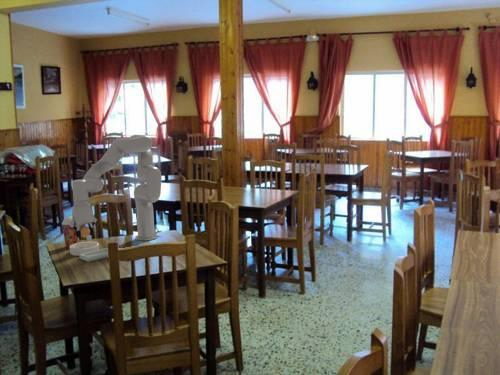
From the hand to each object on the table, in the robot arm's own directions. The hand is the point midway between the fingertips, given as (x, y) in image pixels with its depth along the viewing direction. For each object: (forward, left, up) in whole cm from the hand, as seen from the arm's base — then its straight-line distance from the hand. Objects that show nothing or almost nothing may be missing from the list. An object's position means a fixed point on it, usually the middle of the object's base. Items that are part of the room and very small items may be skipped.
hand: (84, 235), depth 280 cm
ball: (0, 0, +2) cm, 2 cm away
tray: (+1, +14, -8) cm, 17 cm away
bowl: (+1, 0, -8) cm, 8 cm away
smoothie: (+1, -15, -9) cm, 17 cm away
